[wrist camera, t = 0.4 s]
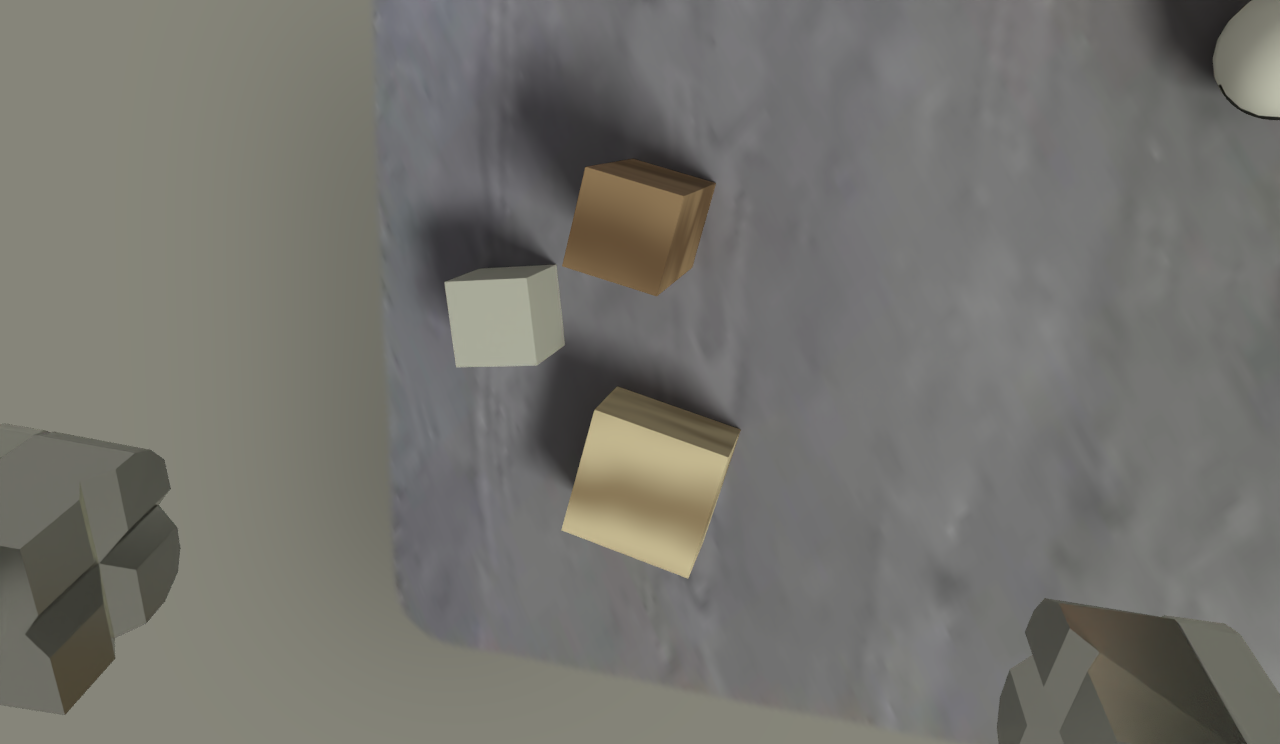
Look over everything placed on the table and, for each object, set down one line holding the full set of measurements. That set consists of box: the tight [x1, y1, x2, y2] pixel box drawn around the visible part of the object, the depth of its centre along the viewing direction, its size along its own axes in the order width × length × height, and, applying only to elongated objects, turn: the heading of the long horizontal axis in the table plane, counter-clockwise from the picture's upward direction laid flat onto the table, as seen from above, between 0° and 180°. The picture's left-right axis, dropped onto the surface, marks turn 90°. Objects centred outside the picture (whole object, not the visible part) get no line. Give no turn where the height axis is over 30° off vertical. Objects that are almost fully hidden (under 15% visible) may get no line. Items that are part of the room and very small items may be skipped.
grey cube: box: [444, 265, 565, 367], centre depth 53 cm, size 5×5×5 cm
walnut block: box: [562, 159, 716, 296], centre depth 48 cm, size 5×5×9 cm
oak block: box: [562, 386, 741, 578], centre depth 54 cm, size 8×8×5 cm
